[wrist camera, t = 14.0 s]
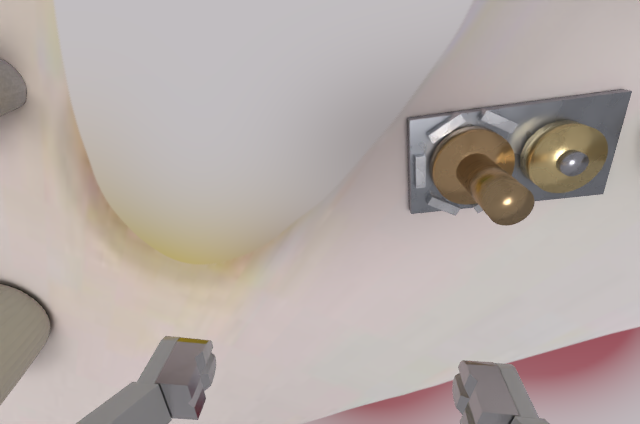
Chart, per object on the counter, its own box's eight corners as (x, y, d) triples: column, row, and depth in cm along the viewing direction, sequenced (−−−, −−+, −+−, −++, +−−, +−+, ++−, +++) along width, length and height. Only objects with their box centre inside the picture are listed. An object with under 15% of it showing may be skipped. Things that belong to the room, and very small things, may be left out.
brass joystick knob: (428, 133, 35) (462, 168, 26) (509, 120, 34) (572, 152, 25) (429, 201, 38) (459, 252, 30) (502, 190, 38) (555, 240, 29)
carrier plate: (407, 115, 35) (416, 126, 31) (623, 86, 33) (663, 94, 29) (409, 210, 41) (417, 230, 36) (595, 191, 38) (625, 210, 34)
